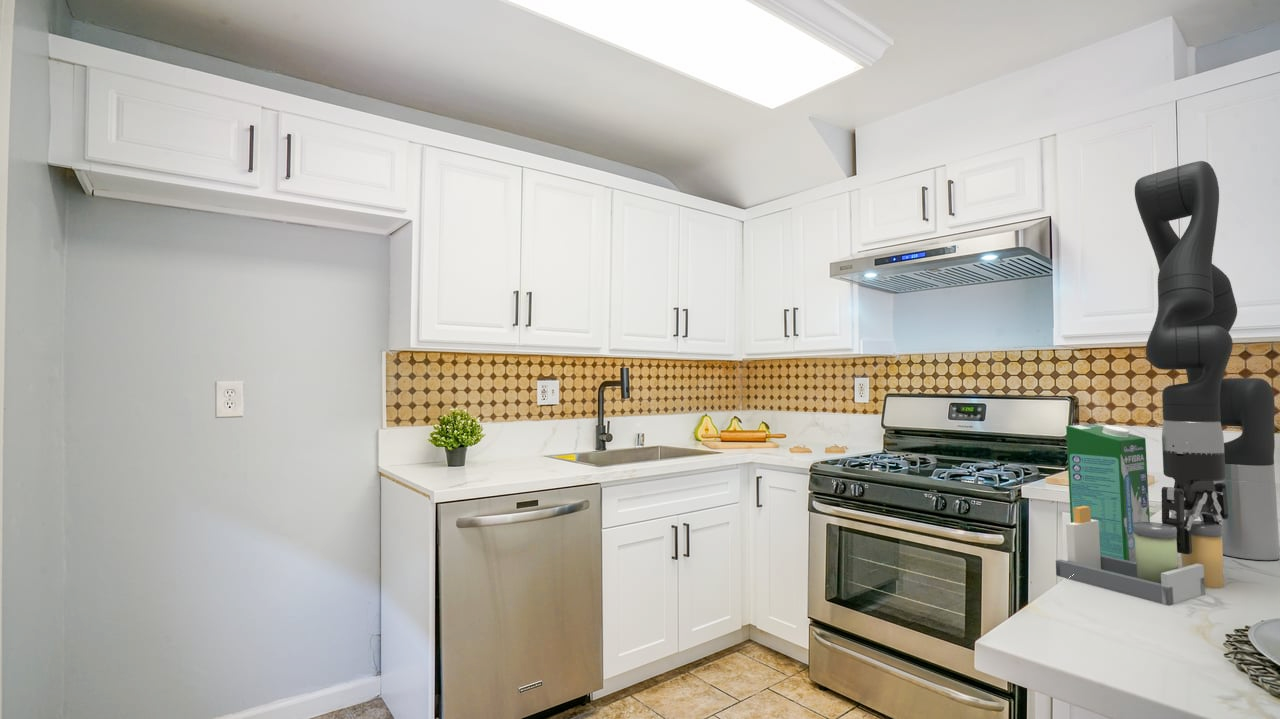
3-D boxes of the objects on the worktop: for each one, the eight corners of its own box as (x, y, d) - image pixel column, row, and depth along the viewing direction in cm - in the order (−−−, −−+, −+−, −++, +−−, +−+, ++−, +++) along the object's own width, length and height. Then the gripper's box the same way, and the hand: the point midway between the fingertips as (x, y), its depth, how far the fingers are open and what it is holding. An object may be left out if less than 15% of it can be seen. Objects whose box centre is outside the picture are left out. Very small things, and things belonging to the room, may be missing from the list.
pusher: (1093, 567, 107) (1090, 504, 108) (1101, 569, 106) (1097, 505, 107) (1068, 573, 104) (1065, 508, 105) (1076, 575, 103) (1072, 510, 104)
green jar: (1148, 584, 99) (1144, 520, 100) (1187, 594, 94) (1184, 526, 95) (1129, 589, 97) (1126, 524, 97) (1169, 600, 92) (1165, 531, 93)
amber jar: (1192, 580, 103) (1189, 518, 103) (1232, 590, 98) (1228, 525, 99) (1175, 585, 101) (1171, 522, 101) (1215, 595, 96) (1211, 529, 96)
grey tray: (1092, 571, 109) (1090, 541, 109) (1205, 599, 94) (1203, 564, 95) (1056, 580, 105) (1055, 549, 105) (1169, 610, 90) (1167, 574, 90)
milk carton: (1126, 568, 110) (1119, 427, 111) (1071, 556, 118) (1065, 425, 119) (1152, 561, 114) (1145, 425, 115) (1097, 549, 122) (1091, 422, 123)
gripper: (1188, 445, 107) (1193, 540, 106) (1140, 448, 101) (1144, 549, 100) (1245, 448, 100) (1250, 550, 99) (1196, 453, 94) (1201, 561, 94)
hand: (1197, 549), depth 100 cm, fingers open, 8 cm apart
